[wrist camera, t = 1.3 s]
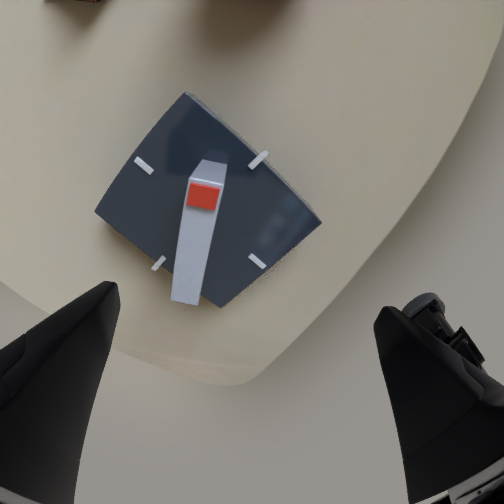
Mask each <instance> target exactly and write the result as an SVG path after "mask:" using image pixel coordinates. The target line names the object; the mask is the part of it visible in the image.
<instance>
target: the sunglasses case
mask: <svg viewBox="0 0 504 504" xmlns="http://www.w3.org/2000/svg"><path fill="white" fill-rule="evenodd" d="M77 1H87V2H99V1H101V0H77Z"/></svg>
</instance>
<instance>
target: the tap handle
mask: <svg viewBox="0 0 504 504" xmlns="http://www.w3.org/2000/svg"><path fill="white" fill-rule="evenodd" d="M226 172H227V165H226V164H222V163H217V162H212V161H208V160H201V161H200V163H199V164H198V166H197V167H196V168H195V170H194V171H193V173H192V174H191V176H190V177H189V179H188V184H187V189H186V195H185V200H184V206H183V211H182V217H181V223H180V229H179V236H178V242H177V249H176V256H175V263H174V271H173V279H172V287H171V296H170V300H171V301H175V302H180V303H185V304H190V305H195V306H197V305H198V303H199V298H200V293H201V288H202V283H203V278H204V273H205V268H206V264H207V259H208V254H209V250H210V245H211V241H212V236H213V232H214V227H215V223H216V219H217V214H218V210H219V206H220V202H221V198H222V193H223V189H224V185H225V179H226Z"/></svg>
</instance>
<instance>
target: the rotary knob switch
mask: <svg viewBox="0 0 504 504" xmlns="http://www.w3.org/2000/svg"><path fill="white" fill-rule="evenodd" d="M268 154H269V153H268V152H267V151H266V150H265V149H264V150H263V151H262V152H261V153H260V154H259V153H258V152H257V151H256V150H255V149H254V148H252V147H251V146H250V145H249V144H248V143H247V142H246V141H245V140H244V139H243V138H242V137H241V136H240V135H239V134H238V133H236V132H235V131H234V130H233V129H232V128H231V127H230V126H229V125H228V124H227V123H226V122H224V121H223V120H222V119H221V118H220V117H219V116H218V115H217V114H215V113H214V112H213V111H212V110H211V109H210V108H209V107H207V106H206V105H205V104H204V103H203V102H202V101H200V100H199V99H198V98H197V97H196V96H195V95H193V94H190V93H187V92H184V93H183V94H182V95H181V96H180V97H179V98H178V100H177V101H176V102H175V103H174V104H173V105H172V106H171V107H170V108H169V110H168V111H167V112H166V113H165V114H164V115H163V116H162V118H161V119H160V120H159V121H158V122H157V123H156V125H155V126H154V127H153V128H152V130H151V131H150V132H149V133H148V134H147V136H146V137H145V138H144V139H143V141H142V142H141V143H140V145H139V146H138V147H137V149H136V150H135V151H134V153H133V154H132V155H131V157H130V158H129V159H128V161H127V162H126V163H125V165H124V166H123V168H122V169H121V170H120V172H119V173H118V175H117V176H116V178H115V179H114V181H113V182H112V184H111V185H110V187H109V188H108V190H107V191H106V193H105V194H104V196H103V198H102V199H101V201H100V202H99V204H98V206H97V207H96V209H95V211H94V212H95V213H96V214H98V215H99V216H100V217H101V218H102V219H104V220H105V221H106V222H107V223H108V224H110V225H111V226H112V227H113V228H114V229H116V230H117V231H118V232H119V233H120V234H122V235H123V236H124V237H125V238H127V239H128V240H129V241H130V242H132V243H133V244H134V245H135V246H137V247H138V248H139V249H140V250H142V251H143V252H144V253H146V254H147V255H148V256H149V257H151V258H152V259H153V260H155V261H156V263H155V264H154V265H153V266H152V268H151V269H153V270H154V271H156V270H157V269H158V267H159V266H160V265H161V266H163V267H164V268H165V269H167V270H168V271H169V272H171V273H172V274H173V271H174V263H175V256H176V249H177V242H178V236H179V229H180V223H181V217H182V211H183V206H184V200H185V195H186V189H187V184H188V179H189V177H190V176H191V174H192V173H193V171H194V170H195V168H196V167H197V166H198V164H199V163H200V161H201V160H208V161H212V162H217V163H222V164H226V165H227V172H226V179H225V185H224V189H223V193H222V198H221V202H220V206H219V210H218V214H217V219H216V223H215V227H214V232H213V236H212V241H211V245H210V250H209V254H208V259H207V264H206V268H205V273H204V278H203V283H202V288H201V293H200V294H201V295H202V296H204V297H205V298H207V299H208V300H209V301H211V302H212V303H214V304H215V305H217V306H218V307H220V308H222V307H223V306H225V305H226V304H227V303H228V302H229V301H231V300H232V299H233V298H234V297H235V296H237V295H238V294H239V293H240V292H241V291H243V290H244V289H245V288H246V287H247V286H249V285H250V284H251V283H252V282H253V281H255V280H256V279H257V278H258V277H259V276H261V275H262V274H263V273H264V272H265V271H267V270H268V269H269V268H270V267H271V266H273V265H274V264H275V263H276V262H277V261H278V260H280V259H281V258H282V257H283V256H284V255H285V254H287V253H288V252H289V251H290V250H291V249H292V248H294V247H295V246H296V245H297V244H298V243H299V242H301V241H302V240H303V239H304V238H305V237H306V236H308V235H309V234H310V233H311V232H312V231H313V230H315V229H316V228H317V227H318V226H319V225H320V224H321V223H322V222H321V220H320V219H319V218H318V216H317V215H316V213H315V212H314V211H313V209H312V208H311V206H310V205H309V204H308V203H307V202H306V201H305V200H304V199H303V198H302V197H301V196H300V195H299V194H298V193H297V192H296V191H295V189H294V188H293V187H292V186H291V185H290V184H289V183H288V182H287V181H286V180H285V179H284V178H283V177H282V176H281V175H280V174H279V173H278V172H277V171H276V170H275V169H274V168H273V167H272V166H271V165H270V164H269V163H268V162H267V161H266V160H265V159H264V158H265V157H266V156H267V155H268Z"/></svg>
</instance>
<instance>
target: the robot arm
mask: <svg viewBox="0 0 504 504" xmlns="http://www.w3.org/2000/svg"><path fill="white" fill-rule="evenodd" d="M119 312H120V298H119V292H118V286H117V284H116V283H115V282H110V281H104V282H102V283H100V284H99V285H97V286H95V287H94V288H92V289H91V290H89V291H87V292H86V293H84V294H83V295H81V296H79V297H78V298H76V299H75V300H73V301H72V302H70V303H69V304H67V305H66V306H64V307H62V308H61V309H59V310H58V311H56V312H55V313H53V314H52V315H50V316H49V317H48V318H46V319H44V320H43V321H42V322H40V323H39V324H37V325H36V326H34V327H33V328H31V329H30V330H28V331H27V332H26V334H23V335H21V336H20V337H19V338H17V339H16V340H14V341H13V342H11V343H10V344H8V345H7V346H5V347H4V348H3V349H1V350H0V504H74V495H75V488H76V482H77V475H78V470H79V464H80V461H79V460H80V458H81V453H82V448H83V444H84V439H85V435H86V430H87V426H88V422H89V418H90V414H91V410H92V407H93V403H94V400H95V396H96V393H97V389H98V386H99V383H100V380H101V376H102V373H103V370H104V367H105V364H106V361H107V358H108V355H109V352H110V348H111V344H112V340H113V336H114V332H115V327H116V323H117V319H118V315H119ZM374 333H375V338H376V343H377V348H378V353H379V359H380V364H381V367H382V371H383V375H384V379H385V382H386V386H387V389H388V394H389V397H390V401H391V405H392V409H393V414H394V418H395V423H396V427H397V432H398V437H399V442H400V447H401V452H402V458H403V465H404V471H405V478H406V485H407V493H408V501H409V504H415V503H417V502H420V501H423V500H425V499H428V498H430V497H432V496H435V495H437V494H439V493H441V492H444V491H446V490H448V494H446V495H445V496H443V497H441V498H440V499H438V500H436V501H435V502H433V503H431V504H504V386H503V385H501V384H500V383H499V382H497V381H496V380H494V379H493V378H491V377H490V376H489V375H488V374H487V373H486V371H485V369H484V368H483V366H482V363H483V362H484V361H485V359H484V357H483V356H482V354H481V353H480V351H479V350H478V348H477V347H476V345H475V344H474V342H473V341H472V340H471V339H470V337H469V335H468V334H467V333H466V331H465V330H464V328H463V327H462V326H461V327H460V328H459V330H458V331H457V332H456V333H455V332H454V331H453V329H452V328H451V326H450V325H449V323H448V322H447V321H446V319H445V316H444V314H443V311H442V309H441V307H440V305H439V303H438V301H437V299H433V300H432V301H431V302H430V303H429V304H428V305H426V306H425V307H424V308H423V309H422V310H421V311H419V312H418V313H417V314H416V315H414V316H413V317H412V318H409V317H408V316H407V315H405V314H404V313H402V312H401V311H400V310H398V309H397V308H395V307H392V306H385V307H383V308H382V310H381V311H380V313H379V315H378V317H377V319H376V321H375V323H374ZM467 342H468V343H467Z"/></svg>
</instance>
